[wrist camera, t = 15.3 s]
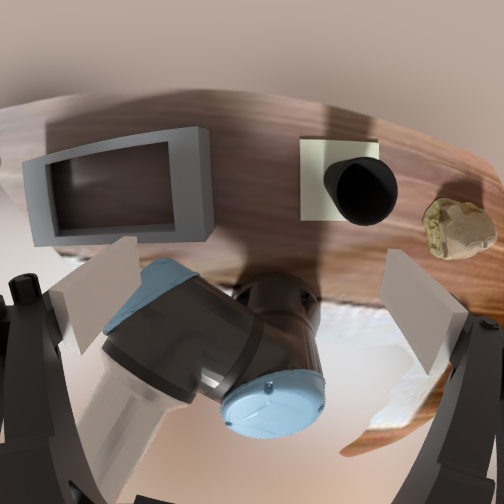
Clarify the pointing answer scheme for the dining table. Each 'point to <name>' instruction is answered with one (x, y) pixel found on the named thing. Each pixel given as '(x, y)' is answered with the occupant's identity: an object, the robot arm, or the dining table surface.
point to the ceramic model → (457, 229)
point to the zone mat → (312, 173)
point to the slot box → (183, 230)
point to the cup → (362, 189)
